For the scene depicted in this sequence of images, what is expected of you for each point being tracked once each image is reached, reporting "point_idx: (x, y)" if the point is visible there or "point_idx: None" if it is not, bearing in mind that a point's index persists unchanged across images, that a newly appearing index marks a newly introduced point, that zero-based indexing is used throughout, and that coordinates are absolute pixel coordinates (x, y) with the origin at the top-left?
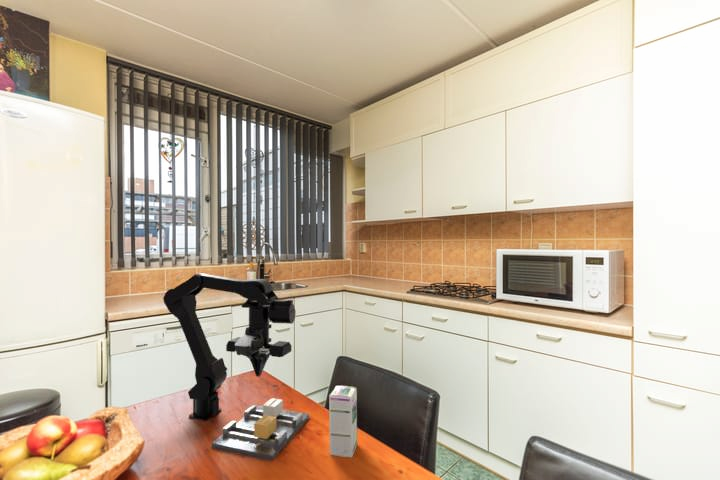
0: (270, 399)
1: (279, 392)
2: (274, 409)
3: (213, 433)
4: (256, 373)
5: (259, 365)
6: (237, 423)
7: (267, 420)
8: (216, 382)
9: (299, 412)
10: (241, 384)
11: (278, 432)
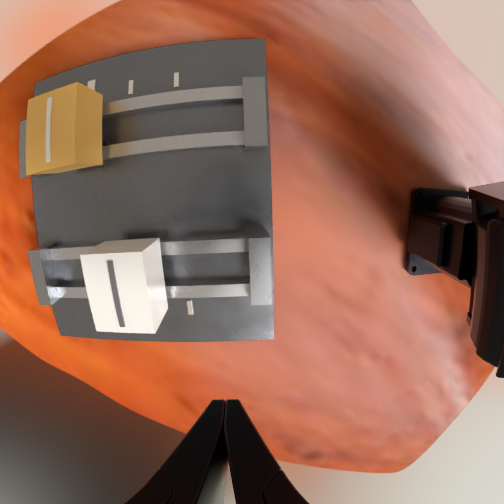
0: (150, 318)
1: (272, 436)
2: (86, 251)
3: (328, 119)
4: (232, 414)
5: (167, 478)
6: (264, 180)
7: (41, 132)
8: (495, 240)
9: (90, 337)
10: (417, 418)
11: (69, 190)
